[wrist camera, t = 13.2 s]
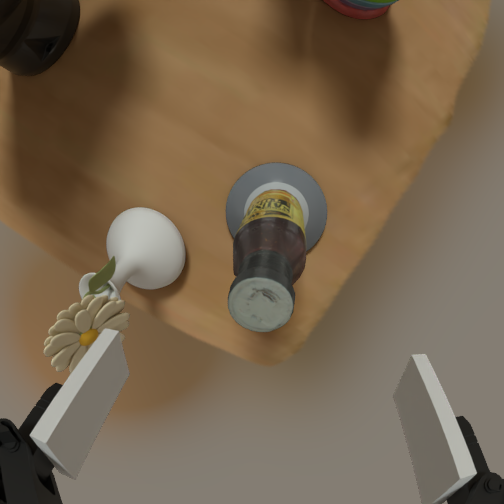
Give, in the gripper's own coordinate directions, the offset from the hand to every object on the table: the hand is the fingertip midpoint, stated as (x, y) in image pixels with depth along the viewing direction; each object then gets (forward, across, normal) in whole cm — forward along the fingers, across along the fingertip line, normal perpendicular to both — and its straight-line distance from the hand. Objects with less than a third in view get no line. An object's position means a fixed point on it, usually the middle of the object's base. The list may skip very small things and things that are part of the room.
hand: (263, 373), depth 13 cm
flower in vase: (+27, -16, -5) cm, 32 cm away
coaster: (+27, 0, 0) cm, 27 cm away
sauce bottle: (+26, 0, 0) cm, 26 cm away
